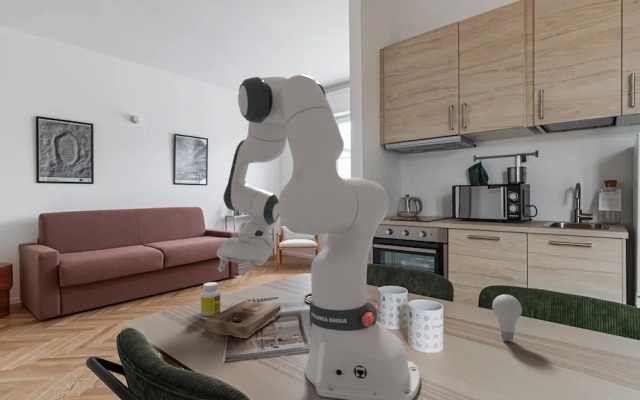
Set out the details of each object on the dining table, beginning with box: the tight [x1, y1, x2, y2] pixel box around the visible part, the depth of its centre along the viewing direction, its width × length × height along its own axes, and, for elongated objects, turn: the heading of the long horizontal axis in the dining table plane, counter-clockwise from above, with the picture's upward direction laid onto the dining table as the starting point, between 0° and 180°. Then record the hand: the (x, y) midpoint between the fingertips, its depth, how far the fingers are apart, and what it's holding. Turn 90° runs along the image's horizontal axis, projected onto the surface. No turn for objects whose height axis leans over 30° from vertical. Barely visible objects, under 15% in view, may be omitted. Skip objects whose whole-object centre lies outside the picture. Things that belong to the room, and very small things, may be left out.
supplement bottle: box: [200, 281, 221, 321], centre depth 99 cm, size 5×5×10 cm
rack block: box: [204, 300, 282, 337], centre depth 93 cm, size 13×17×3 cm
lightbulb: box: [491, 294, 523, 342], centre depth 79 cm, size 6×6×11 cm
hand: (230, 272), depth 105 cm, fingers open, 8 cm apart
